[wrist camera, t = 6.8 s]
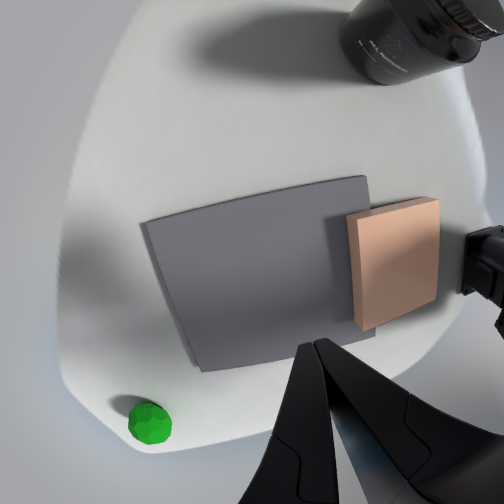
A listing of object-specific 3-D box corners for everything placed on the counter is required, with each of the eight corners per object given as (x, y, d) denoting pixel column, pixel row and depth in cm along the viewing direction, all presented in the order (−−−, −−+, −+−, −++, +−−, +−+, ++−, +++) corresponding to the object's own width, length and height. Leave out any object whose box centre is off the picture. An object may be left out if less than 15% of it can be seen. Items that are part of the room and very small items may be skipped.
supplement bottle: (342, 81, 16) (440, 18, 5) (332, 8, 14) (394, -80, 3) (419, 94, 16) (531, 72, 5) (406, 25, 14) (494, -26, 3)
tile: (345, 215, 19) (426, 196, 19) (354, 321, 21) (425, 292, 22) (357, 219, 17) (438, 199, 18) (363, 331, 20) (435, 299, 21)
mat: (362, 175, 19) (366, 175, 18) (372, 331, 23) (375, 336, 22) (149, 221, 20) (145, 223, 19) (202, 366, 24) (201, 372, 23)
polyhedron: (152, 389, 25) (141, 423, 21) (184, 414, 27) (177, 447, 22) (126, 401, 26) (114, 431, 22) (155, 424, 28) (147, 454, 23)
